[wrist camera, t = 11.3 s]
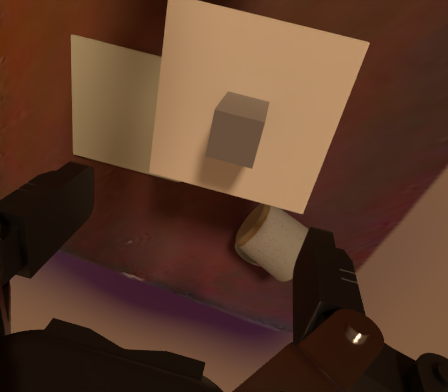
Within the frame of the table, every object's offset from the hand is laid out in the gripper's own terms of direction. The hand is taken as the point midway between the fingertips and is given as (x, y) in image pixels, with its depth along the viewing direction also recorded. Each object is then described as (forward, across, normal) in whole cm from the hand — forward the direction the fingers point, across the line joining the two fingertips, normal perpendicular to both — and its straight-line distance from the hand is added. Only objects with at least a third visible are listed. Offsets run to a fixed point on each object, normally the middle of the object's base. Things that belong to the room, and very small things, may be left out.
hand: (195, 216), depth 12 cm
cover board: (+15, 0, 0) cm, 15 cm away
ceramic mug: (+30, -7, +20) cm, 37 cm away
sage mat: (+30, +14, +8) cm, 34 cm away
